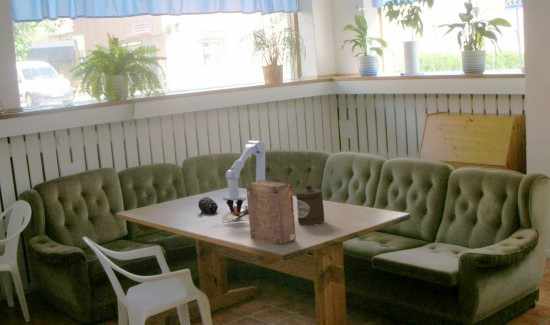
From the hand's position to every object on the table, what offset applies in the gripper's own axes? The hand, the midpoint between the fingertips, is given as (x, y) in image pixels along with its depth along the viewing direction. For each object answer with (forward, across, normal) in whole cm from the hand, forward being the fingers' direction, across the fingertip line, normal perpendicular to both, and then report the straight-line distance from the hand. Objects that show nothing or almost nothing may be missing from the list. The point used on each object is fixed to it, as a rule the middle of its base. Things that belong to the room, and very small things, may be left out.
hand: (235, 212), depth 429 cm
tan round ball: (+3, -6, +11) cm, 13 cm away
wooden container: (+5, +49, -3) cm, 49 cm away
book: (+5, +41, -39) cm, 57 cm away
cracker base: (+4, -2, +7) cm, 9 cm away
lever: (+2, 0, +7) cm, 8 cm away
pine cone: (+5, -26, +14) cm, 29 cm away
